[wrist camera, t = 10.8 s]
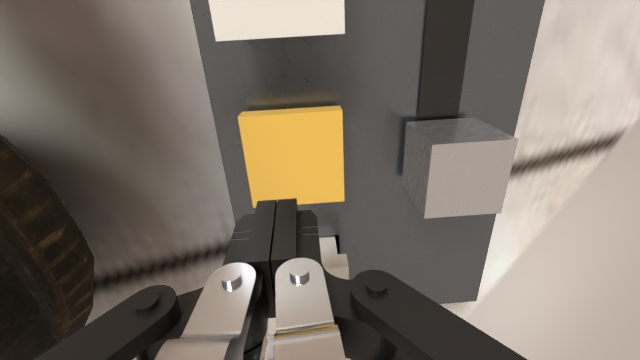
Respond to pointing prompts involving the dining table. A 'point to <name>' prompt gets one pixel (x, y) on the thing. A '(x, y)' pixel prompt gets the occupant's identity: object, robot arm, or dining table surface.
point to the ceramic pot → (38, 263)
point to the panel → (382, 118)
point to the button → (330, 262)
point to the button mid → (294, 154)
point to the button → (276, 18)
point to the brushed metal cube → (456, 166)
